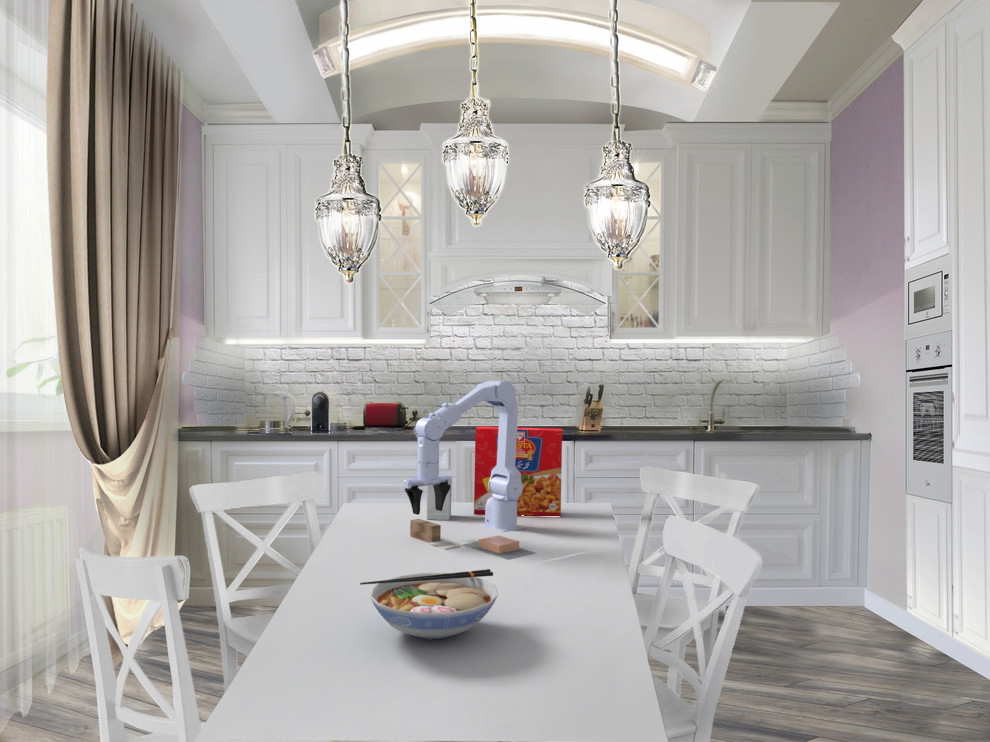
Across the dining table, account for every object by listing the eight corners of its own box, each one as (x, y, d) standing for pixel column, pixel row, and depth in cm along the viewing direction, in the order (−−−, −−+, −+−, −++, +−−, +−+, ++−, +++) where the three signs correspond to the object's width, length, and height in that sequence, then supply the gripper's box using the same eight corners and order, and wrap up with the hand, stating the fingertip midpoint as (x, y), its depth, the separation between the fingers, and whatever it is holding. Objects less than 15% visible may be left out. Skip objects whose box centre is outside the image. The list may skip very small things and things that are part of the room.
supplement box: (449, 520, 213) (450, 479, 213) (425, 519, 213) (426, 479, 213) (451, 515, 221) (452, 476, 221) (428, 514, 221) (429, 475, 221)
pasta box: (473, 514, 222) (475, 428, 222) (476, 509, 230) (478, 426, 230) (560, 518, 220) (562, 430, 220) (560, 512, 228) (562, 428, 228)
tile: (478, 539, 179) (499, 545, 173) (498, 535, 184) (519, 541, 178) (478, 547, 179) (499, 554, 173) (498, 543, 184) (519, 549, 178)
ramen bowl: (369, 666, 108) (370, 614, 108) (356, 615, 130) (357, 572, 130) (520, 650, 115) (521, 602, 115) (484, 605, 137) (485, 564, 137)
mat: (461, 546, 182) (461, 544, 182) (489, 540, 189) (489, 539, 189) (508, 561, 169) (508, 559, 169) (536, 554, 175) (536, 552, 175)
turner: (406, 538, 189) (407, 520, 189) (421, 535, 193) (421, 518, 193) (444, 551, 177) (445, 532, 177) (460, 548, 180) (460, 529, 180)
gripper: (415, 466, 179) (414, 518, 179) (458, 461, 188) (457, 511, 189) (399, 463, 184) (399, 513, 184) (442, 458, 194) (441, 506, 194)
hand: (427, 512), depth 187 cm, fingers open, 7 cm apart
